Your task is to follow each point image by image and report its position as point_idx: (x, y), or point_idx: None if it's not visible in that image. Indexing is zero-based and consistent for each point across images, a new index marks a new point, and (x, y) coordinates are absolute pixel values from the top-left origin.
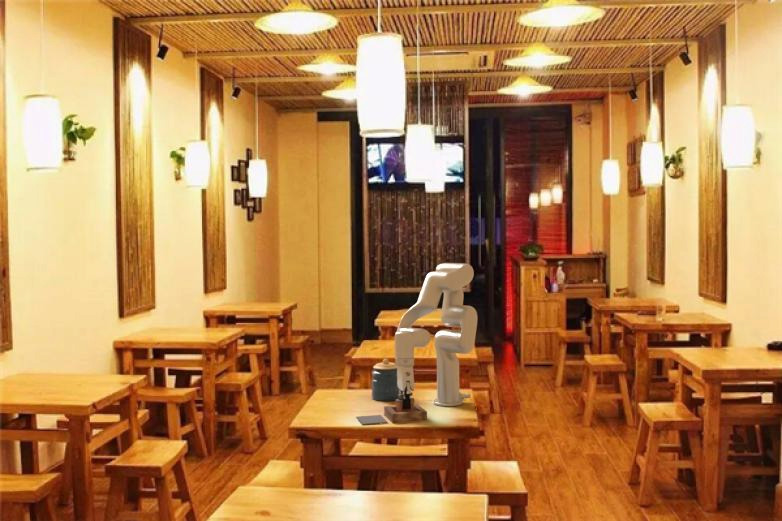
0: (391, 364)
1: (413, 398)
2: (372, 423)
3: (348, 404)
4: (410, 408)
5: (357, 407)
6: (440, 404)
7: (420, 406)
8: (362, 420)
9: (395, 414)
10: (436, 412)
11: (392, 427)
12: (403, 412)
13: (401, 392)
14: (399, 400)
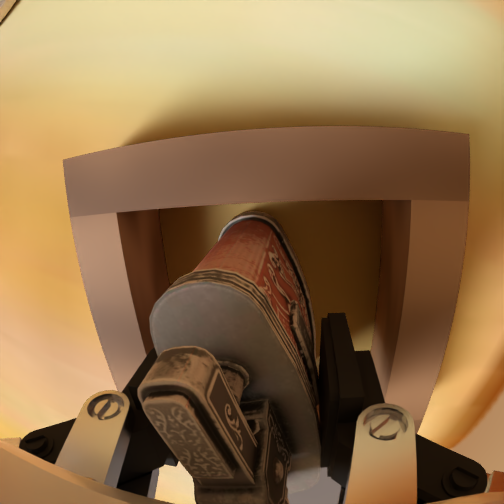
0: None
1: (223, 301)
2: None
3: (9, 422)
4: (289, 295)
5: (35, 422)
6: (9, 2)
7: (174, 138)
8: (303, 500)
9: (416, 429)
10: (145, 3)
11: (478, 404)
12: (407, 380)
13: (146, 496)
14: (308, 478)
